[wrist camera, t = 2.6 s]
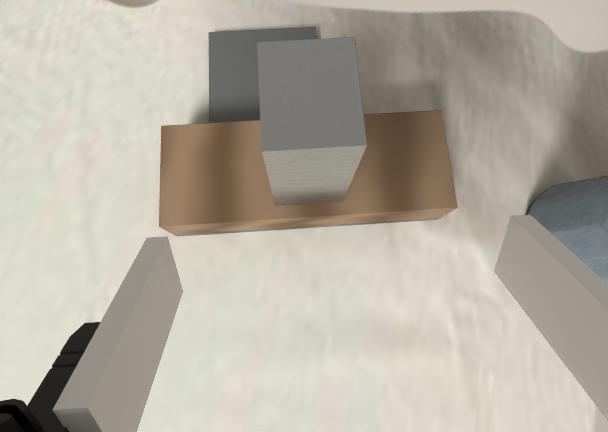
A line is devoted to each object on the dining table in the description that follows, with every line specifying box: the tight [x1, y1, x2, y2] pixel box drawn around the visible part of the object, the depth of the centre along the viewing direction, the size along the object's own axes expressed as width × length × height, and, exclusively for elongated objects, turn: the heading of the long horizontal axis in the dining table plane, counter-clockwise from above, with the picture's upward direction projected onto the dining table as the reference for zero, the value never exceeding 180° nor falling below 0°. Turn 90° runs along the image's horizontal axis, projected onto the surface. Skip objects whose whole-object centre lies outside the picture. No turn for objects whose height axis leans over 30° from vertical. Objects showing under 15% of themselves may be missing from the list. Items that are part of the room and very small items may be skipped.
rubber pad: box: [209, 27, 316, 123], centre depth 33 cm, size 10×10×1 cm
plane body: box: [159, 110, 458, 236], centre depth 30 cm, size 22×8×4 cm, turn 94°
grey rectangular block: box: [257, 37, 367, 206], centre depth 23 cm, size 6×5×10 cm
